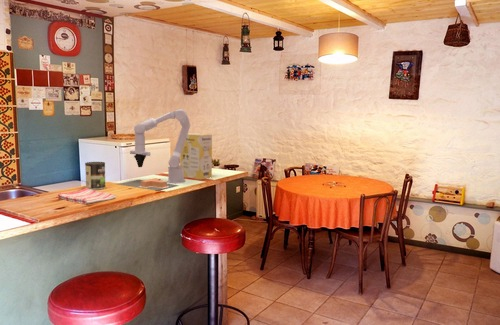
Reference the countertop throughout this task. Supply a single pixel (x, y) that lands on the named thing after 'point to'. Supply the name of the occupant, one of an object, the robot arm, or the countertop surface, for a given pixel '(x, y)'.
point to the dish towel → (86, 196)
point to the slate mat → (138, 184)
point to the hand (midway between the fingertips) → (140, 167)
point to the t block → (154, 183)
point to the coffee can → (95, 175)
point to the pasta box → (197, 156)
